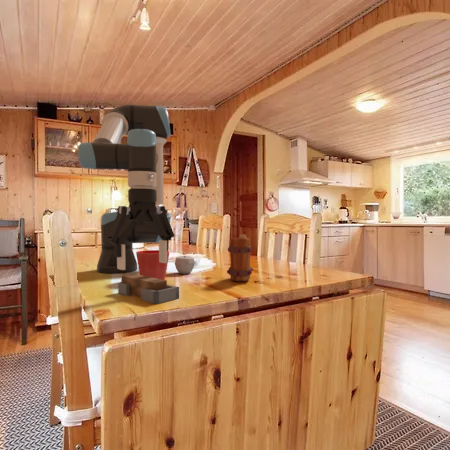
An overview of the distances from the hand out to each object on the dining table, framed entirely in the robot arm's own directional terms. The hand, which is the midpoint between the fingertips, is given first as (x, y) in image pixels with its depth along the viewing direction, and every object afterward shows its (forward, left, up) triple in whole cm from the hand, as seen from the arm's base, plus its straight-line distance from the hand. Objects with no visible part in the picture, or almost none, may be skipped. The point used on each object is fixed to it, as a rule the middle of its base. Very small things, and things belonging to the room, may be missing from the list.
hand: (143, 265), depth 92 cm
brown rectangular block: (+1, -1, -8) cm, 8 cm away
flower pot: (-14, +14, -8) cm, 21 cm away
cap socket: (+8, 0, -8) cm, 11 cm away
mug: (+7, +35, -8) cm, 36 cm away
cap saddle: (-4, 0, -8) cm, 9 cm away
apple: (-16, +30, -8) cm, 35 cm away
